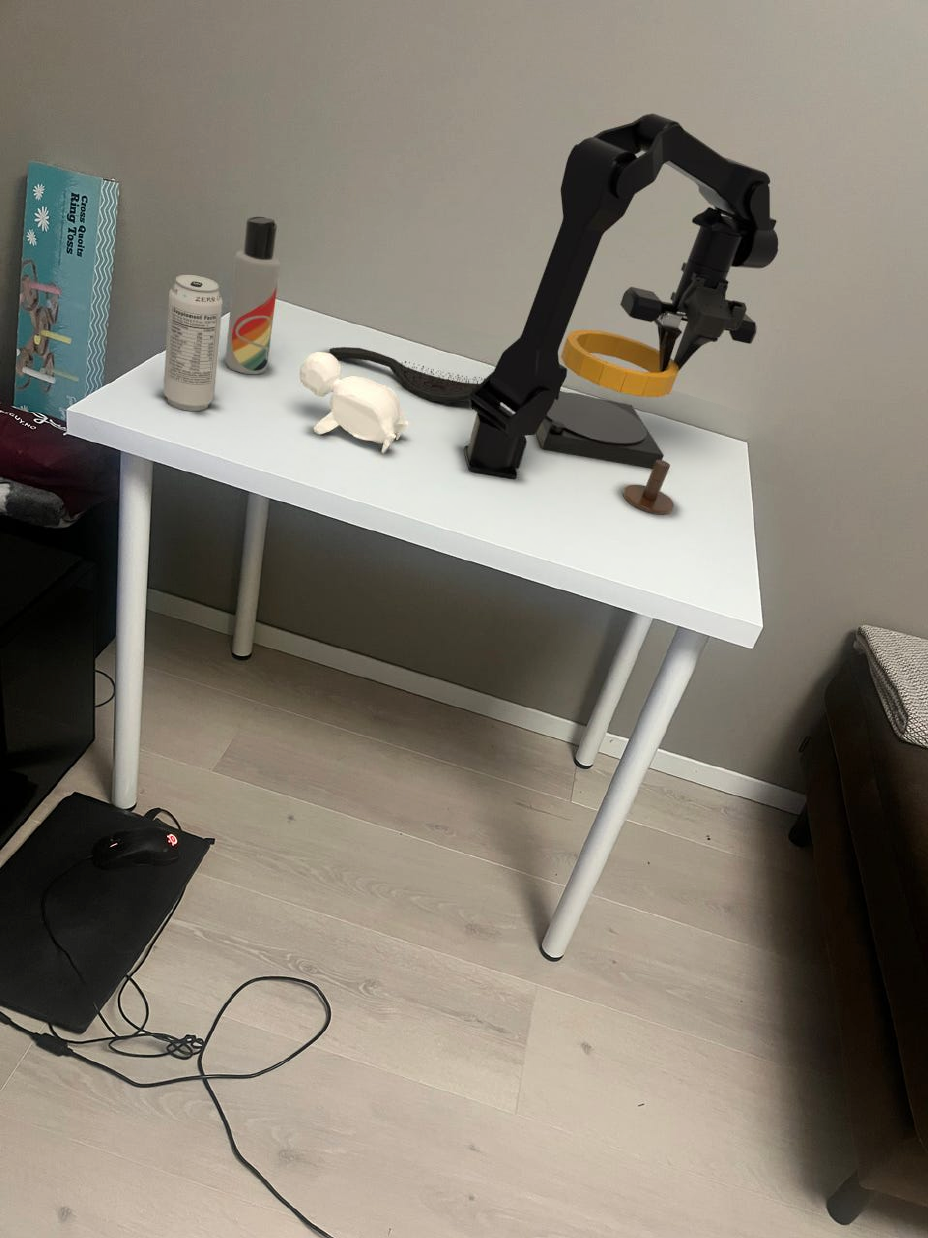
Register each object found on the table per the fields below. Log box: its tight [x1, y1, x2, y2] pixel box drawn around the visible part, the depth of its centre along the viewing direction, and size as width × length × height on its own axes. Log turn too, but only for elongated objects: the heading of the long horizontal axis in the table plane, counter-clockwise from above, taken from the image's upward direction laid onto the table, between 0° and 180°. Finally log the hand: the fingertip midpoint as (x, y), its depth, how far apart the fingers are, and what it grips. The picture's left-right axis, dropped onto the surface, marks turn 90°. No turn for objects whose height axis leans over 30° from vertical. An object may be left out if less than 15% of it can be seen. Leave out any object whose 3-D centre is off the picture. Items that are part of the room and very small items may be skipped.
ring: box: [560, 329, 680, 398], centre depth 130 cm, size 16×16×3 cm
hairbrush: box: [328, 346, 486, 404], centre depth 137 cm, size 8×4×25 cm
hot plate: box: [535, 390, 665, 469], centre depth 138 cm, size 18×18×3 cm
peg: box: [622, 459, 675, 516], centre depth 122 cm, size 7×7×6 cm
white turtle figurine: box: [299, 351, 410, 454], centre depth 117 cm, size 9×8×15 cm
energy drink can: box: [163, 274, 224, 412], centre depth 110 cm, size 6×6×15 cm
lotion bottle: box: [225, 216, 281, 375], centre depth 122 cm, size 6×6×20 cm
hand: (667, 373), depth 132 cm, fingers closed on ring
